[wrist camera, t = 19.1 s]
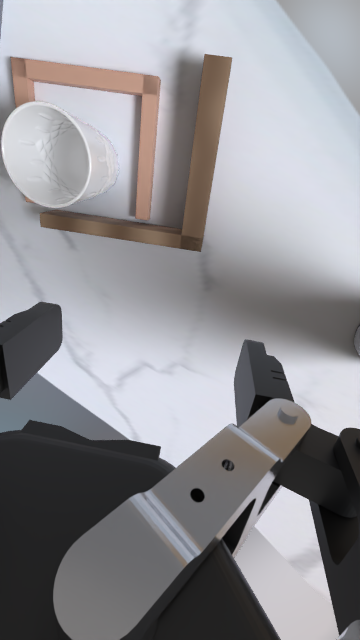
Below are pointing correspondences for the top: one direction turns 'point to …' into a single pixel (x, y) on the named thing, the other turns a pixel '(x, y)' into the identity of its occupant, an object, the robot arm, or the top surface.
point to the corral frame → (104, 81)
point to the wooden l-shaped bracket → (198, 183)
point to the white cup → (56, 155)
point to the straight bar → (0, 8)
